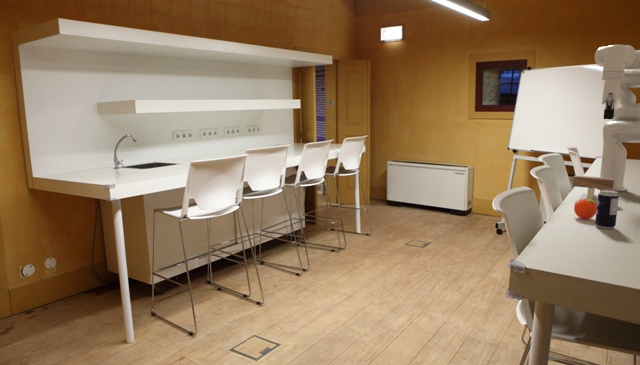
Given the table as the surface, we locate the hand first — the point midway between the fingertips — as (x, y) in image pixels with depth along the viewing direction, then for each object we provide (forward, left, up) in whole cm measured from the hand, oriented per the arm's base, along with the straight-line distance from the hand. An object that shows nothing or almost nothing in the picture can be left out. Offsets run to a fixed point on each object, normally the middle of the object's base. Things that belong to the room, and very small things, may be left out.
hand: (608, 118), depth 192 cm
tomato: (+46, -2, -34) cm, 57 cm away
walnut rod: (+13, -3, -28) cm, 30 cm away
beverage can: (+55, +4, -34) cm, 64 cm away
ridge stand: (+11, -3, -34) cm, 35 cm away
